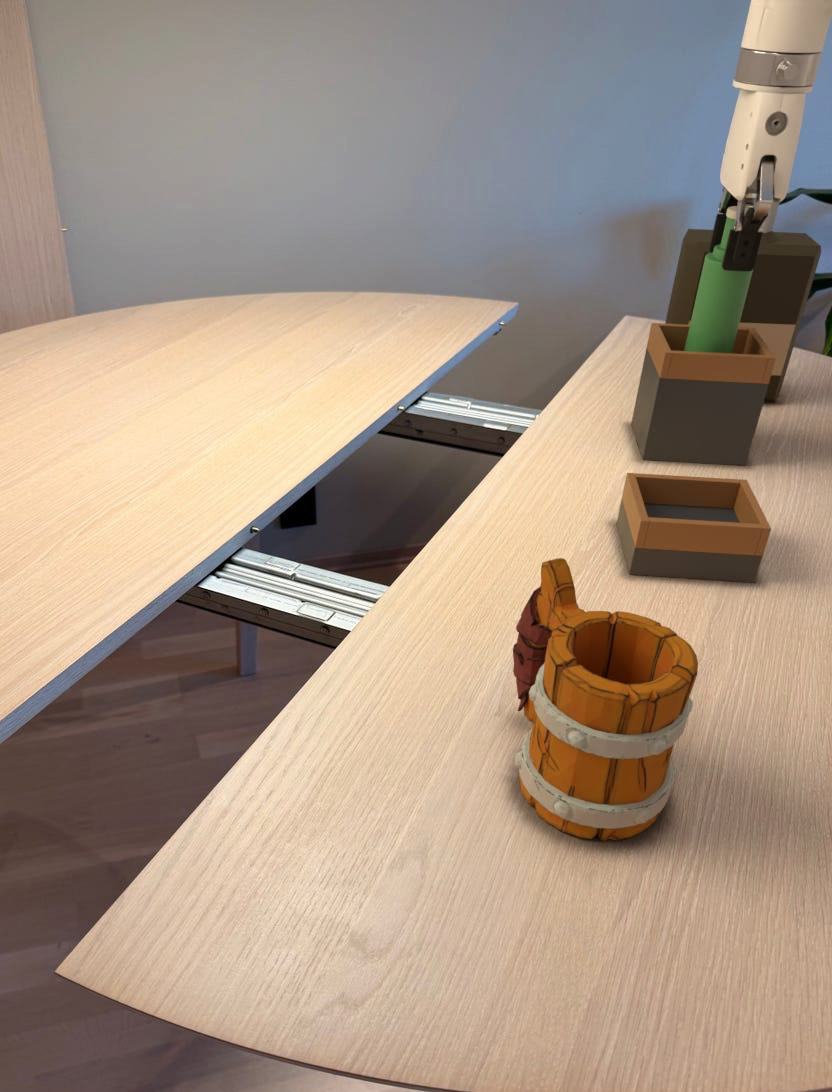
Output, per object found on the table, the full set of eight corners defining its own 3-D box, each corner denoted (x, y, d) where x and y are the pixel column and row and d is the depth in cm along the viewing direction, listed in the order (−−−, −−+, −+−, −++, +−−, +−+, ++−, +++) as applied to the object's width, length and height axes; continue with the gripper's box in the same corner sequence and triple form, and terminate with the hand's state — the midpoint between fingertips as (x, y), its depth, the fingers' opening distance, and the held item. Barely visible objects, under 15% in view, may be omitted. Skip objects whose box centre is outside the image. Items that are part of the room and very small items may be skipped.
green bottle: (722, 358, 116) (761, 204, 106) (732, 374, 112) (773, 216, 102) (677, 355, 116) (711, 202, 106) (685, 372, 112) (722, 214, 102)
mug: (572, 867, 66) (611, 695, 57) (455, 718, 78) (472, 557, 69) (700, 821, 69) (756, 652, 61) (570, 686, 81) (600, 528, 73)
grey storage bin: (727, 430, 123) (754, 327, 116) (745, 465, 115) (776, 358, 108) (630, 424, 124) (651, 322, 116) (642, 459, 116) (665, 352, 108)
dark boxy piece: (649, 377, 137) (690, 184, 122) (765, 382, 137) (820, 188, 122) (661, 399, 131) (704, 199, 116) (782, 405, 130) (842, 204, 115)
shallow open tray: (732, 531, 103) (746, 479, 99) (754, 582, 95) (771, 528, 91) (616, 523, 104) (626, 472, 100) (629, 574, 96) (640, 520, 92)
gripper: (842, 84, 89) (785, 286, 100) (791, 62, 103) (746, 242, 114) (757, 81, 90) (710, 283, 100) (718, 60, 103) (680, 239, 114)
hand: (730, 259), depth 107 cm, fingers open, 5 cm apart
